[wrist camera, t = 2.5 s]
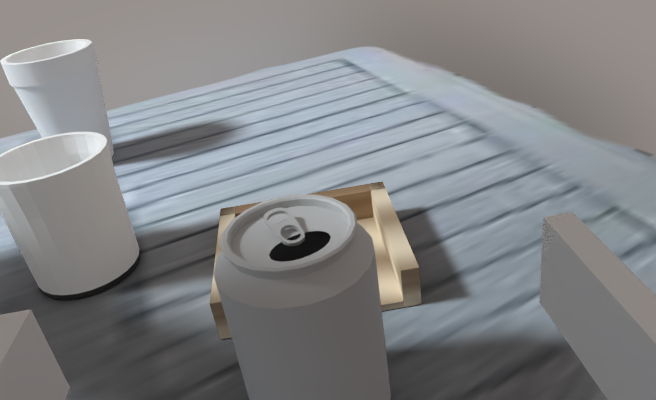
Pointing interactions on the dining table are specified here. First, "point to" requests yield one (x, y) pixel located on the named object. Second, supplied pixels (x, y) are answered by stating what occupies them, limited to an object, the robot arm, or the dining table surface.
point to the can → (303, 301)
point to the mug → (68, 214)
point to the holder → (388, 238)
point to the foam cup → (60, 87)
